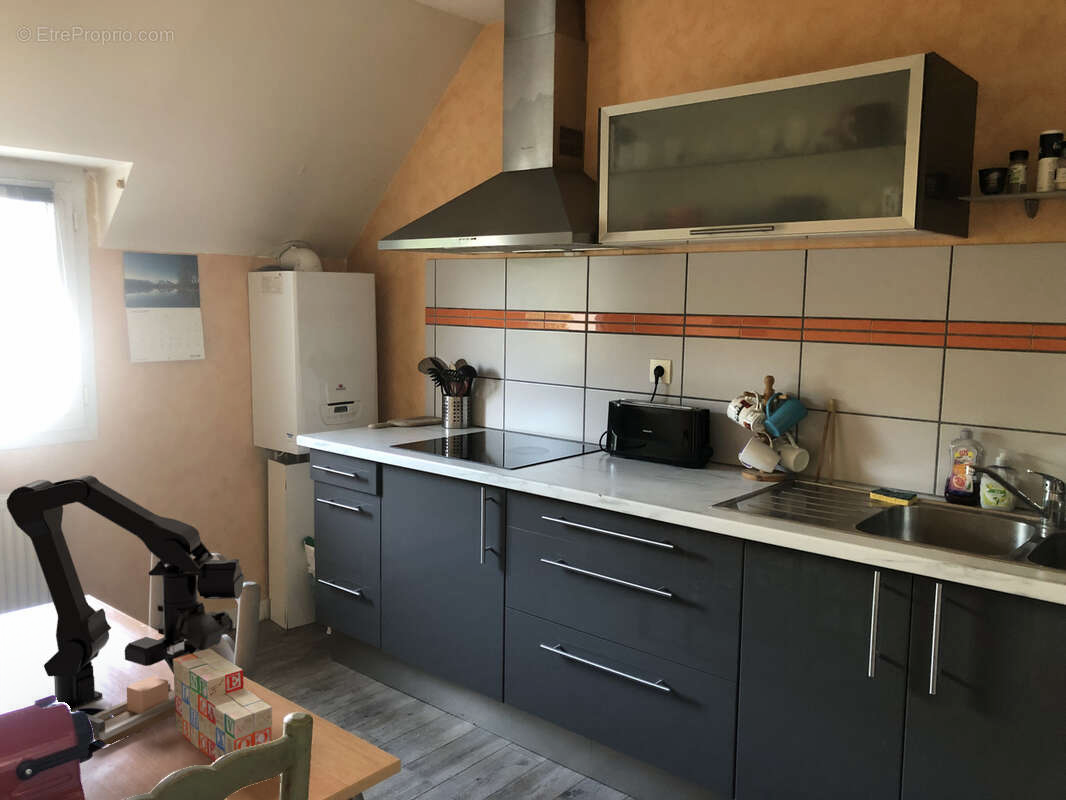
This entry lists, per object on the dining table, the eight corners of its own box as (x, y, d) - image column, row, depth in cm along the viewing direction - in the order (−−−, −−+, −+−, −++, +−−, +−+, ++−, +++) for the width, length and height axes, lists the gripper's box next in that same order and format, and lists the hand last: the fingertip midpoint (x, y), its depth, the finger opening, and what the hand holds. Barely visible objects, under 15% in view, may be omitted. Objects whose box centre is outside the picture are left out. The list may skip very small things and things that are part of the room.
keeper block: (127, 709, 143) (126, 686, 142) (153, 698, 147) (152, 675, 147) (143, 715, 141) (142, 692, 140) (168, 703, 145) (168, 680, 145)
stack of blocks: (273, 765, 130) (272, 687, 128) (234, 780, 125) (232, 700, 124) (211, 716, 145) (209, 646, 143) (174, 728, 140) (172, 657, 139)
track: (75, 738, 136) (74, 714, 136) (166, 695, 151) (166, 674, 151) (103, 749, 133) (103, 724, 133) (194, 704, 148) (193, 682, 148)
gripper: (166, 623, 137) (169, 716, 138) (254, 590, 153) (255, 674, 155) (121, 611, 142) (124, 701, 143) (210, 580, 158) (212, 661, 160)
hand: (182, 683), depth 150 cm, fingers closed
